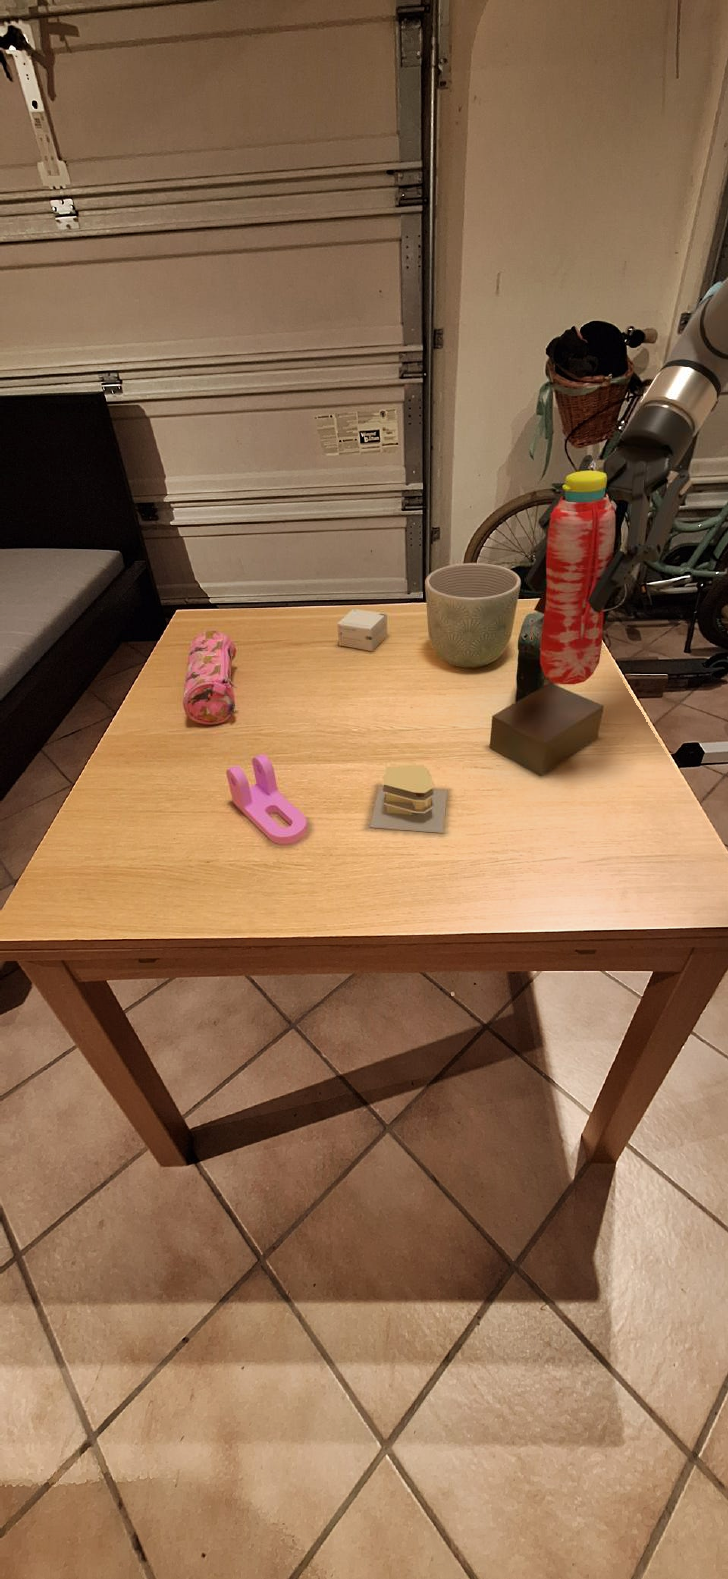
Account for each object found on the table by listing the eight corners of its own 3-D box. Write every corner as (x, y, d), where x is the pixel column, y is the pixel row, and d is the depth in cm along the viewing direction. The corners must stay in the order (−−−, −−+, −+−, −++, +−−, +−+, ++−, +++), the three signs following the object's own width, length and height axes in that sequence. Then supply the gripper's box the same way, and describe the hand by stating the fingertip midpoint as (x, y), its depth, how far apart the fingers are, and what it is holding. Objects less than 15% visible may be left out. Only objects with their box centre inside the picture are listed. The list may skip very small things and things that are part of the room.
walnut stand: (597, 738, 100) (604, 705, 96) (541, 776, 93) (546, 743, 89) (545, 713, 106) (550, 682, 102) (489, 748, 99) (492, 715, 95)
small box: (338, 646, 129) (336, 622, 126) (355, 630, 135) (353, 607, 131) (372, 652, 126) (371, 628, 123) (388, 636, 132) (387, 612, 128)
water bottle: (523, 654, 91) (532, 463, 76) (579, 648, 90) (599, 455, 75) (545, 695, 81) (560, 486, 66) (608, 688, 81) (638, 476, 66)
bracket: (233, 803, 92) (224, 765, 88) (266, 787, 95) (258, 749, 90) (281, 850, 84) (273, 811, 80) (315, 831, 87) (309, 792, 82)
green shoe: (537, 725, 103) (554, 608, 91) (499, 716, 106) (510, 601, 93) (569, 670, 117) (587, 561, 104) (534, 663, 119) (548, 557, 106)
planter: (417, 674, 118) (417, 596, 109) (431, 634, 131) (432, 561, 121) (510, 681, 115) (518, 600, 105) (515, 639, 127) (523, 564, 118)
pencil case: (242, 724, 109) (233, 678, 103) (188, 731, 108) (175, 685, 102) (240, 665, 125) (231, 623, 119) (192, 672, 124) (182, 629, 118)
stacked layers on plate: (369, 827, 86) (367, 796, 83) (379, 786, 93) (377, 756, 90) (442, 833, 85) (443, 802, 81) (447, 791, 92) (448, 760, 88)
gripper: (760, 457, 71) (648, 636, 73) (595, 435, 84) (505, 588, 86) (753, 410, 65) (631, 606, 67) (577, 394, 78) (481, 559, 81)
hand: (561, 596), depth 77 cm, fingers closed on water bottle, 8 cm apart
